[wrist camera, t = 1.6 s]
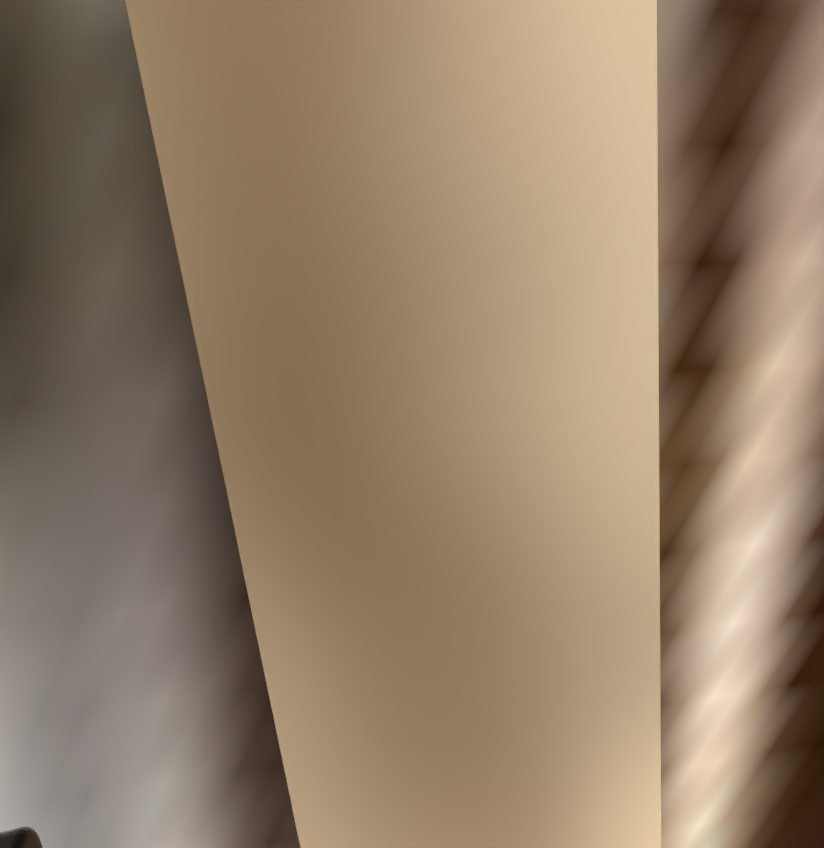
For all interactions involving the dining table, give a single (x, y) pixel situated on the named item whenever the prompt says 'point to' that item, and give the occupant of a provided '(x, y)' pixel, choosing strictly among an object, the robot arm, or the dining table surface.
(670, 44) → the dining table surface
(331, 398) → the rail
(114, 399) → the dining table surface
